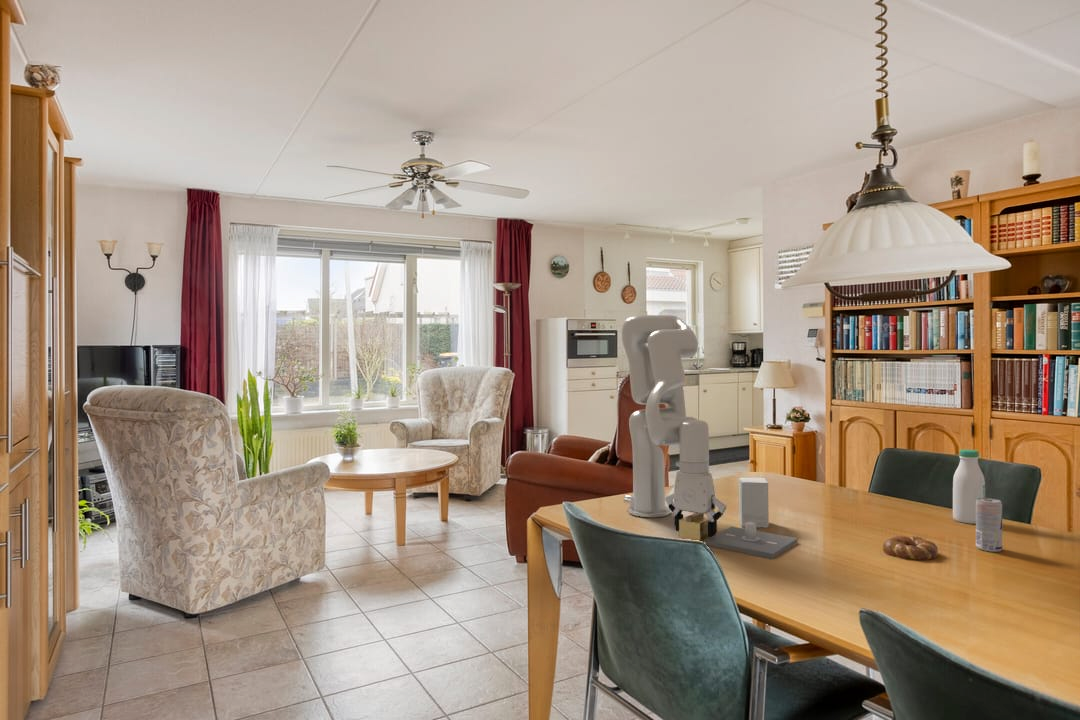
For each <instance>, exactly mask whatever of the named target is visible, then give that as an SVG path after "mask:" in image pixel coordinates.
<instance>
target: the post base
mask: <svg viewBox="0 0 1080 720" xmlns="http://www.w3.org/2000/svg"><path fill="white" fill-rule="evenodd" d="M798 540H799V539H798V537H793V536H787V535H782V534H776V533H771V532H766V531H760V530H757V527H756V523H753V522H746V523H745V527H739V526H738V527H737V526H732V525H731V526H728V527H727V528H725V529H723V530H721V531H719V532H717V533H716V535H715V536H713V537H709V538H707V539H705V540H704V542H705V543H706V544H707V545H708V546H709V547H713V548H717V549H724V550H726V551H727V550H728V551H733V552H737V553H742V554H748V555H751V556H756V557H757V556H758V557H760V558H761V557H762V558H765V559H772V560H773V559H775V558H777V557H778V556H779V555H781V554H783V553H785V552H786V551H787V550H789V549H790V548H792V547H793V545H794V546H796V545H797V544H798ZM704 542H703V543H704ZM796 543H797V544H796ZM707 545H706V546H707Z"/></svg>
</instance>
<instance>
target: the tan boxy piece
mask: <svg viewBox="0 0 1080 720" xmlns="http://www.w3.org/2000/svg"><path fill="white" fill-rule="evenodd" d="M709 521H710V520H709V518H708V517H705V514H700V513H692V514H690V515H687V516H685V517H683V518H682V519H680V520H679V531H678V534H679V535H678V537H679V538H681V539H691V540H699V541H703V543H704V540H705V539H707V538H709V536H708V522H709Z"/></svg>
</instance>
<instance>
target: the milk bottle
mask: <svg viewBox="0 0 1080 720" xmlns="http://www.w3.org/2000/svg"><path fill="white" fill-rule="evenodd" d="M958 453H959V454H958V455H959V459H960V460H959V463H958V466H957V468H956V470H955V472H954V474H953V479H952V519H953V520H954V521H957V522H960V523H963V524H973V525H976V501H977V498H986V480H985V479H986V478H985V476H984V473H983V472H982V470H981V468H980V465H979V460H978V459H979V458H980V457H979V456H980V454H979V451H978V450H977V449H966V448H965V449H964V448H963V449H959V452H958Z"/></svg>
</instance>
